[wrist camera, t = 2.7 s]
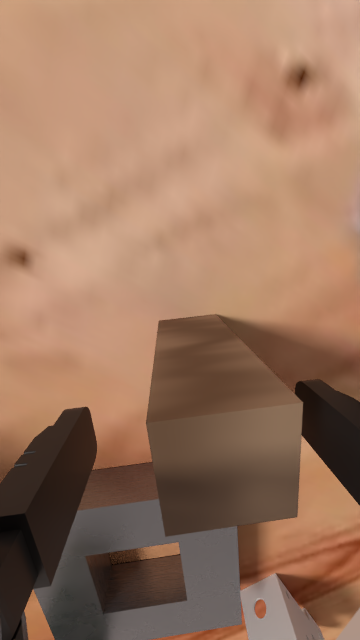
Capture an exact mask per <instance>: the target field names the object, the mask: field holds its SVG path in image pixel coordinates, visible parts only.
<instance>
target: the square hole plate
mask: <svg viewBox="0 0 360 640" xmlns="http://www.w3.org/2000/svg"><path fill="white" fill-rule="evenodd" d="M176 542H179V547H180V554H181V555H175V556H169V557H162V558H155V559H149V560H142V561H136V562H129V563H123V564H116V565H112V563H111V560H110V556H109V552H116V551H123V550H129V549H136V548H143V547H149V546H156V545H163V544H169V543H176ZM34 591H35V594H36V596H37V598H38V601H39V603H40V606H41V608H42V610H43V613H44V615H45V617H46V620H47V622H48V624H49V627H50V629H51V631H52V634H53V636H54V638H55V640H149V639H156V638H162V637H168V636H174V635H180V634H186V633H192V632H198V631H204V630H210V629H216V628H222V627H228V626H234V625H240V624H242V619H241V598H240V577H239V556H238V535H237V526H235V527H228V528H221V529H215V530H208V531H201V532H195V533H188V534H181V535H175V536H168V537H165V532H164V526H163V520H162V514H161V509H160V503H159V497H158V491H157V485H156V479H155V473H154V467H153V462H151V463H144V464H136V465H129V466H122V467H114V468H107V469H100V470H92V471H91V473H90V476H89V479H88V482H87V485H86V488H85V490H84V493H83V496H82V499H81V502H80V505H79V508H78V510H77V513H76V516H75V519H74V522H73V525H72V527H71V530H70V533H69V536H68V539H67V542H66V545H65V547H64V550H63V553H62V556H61V559H60V562H59V565H58V567H57V570H56V573H55V576H54V579H53V582H52V584H51V586H49V587H43V588H37V589H34Z"/></svg>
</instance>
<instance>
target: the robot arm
mask: <svg viewBox="0 0 360 640" xmlns="http://www.w3.org/2000/svg"><path fill="white" fill-rule="evenodd" d="M295 395H296V396H297V397H298V398H299V399H300V400H301V401H302V402H303V414H302V433H301V435H302V436H303V437H304V438H305V440H306V441H307V442H308V443H309V444H310V446H311V447H312V448H313V449H314V451H315V452H316V453H317V454H318V455H319V457H320V458H321V459H322V460H323V461H324V463H325V464H326V465H327V466H328V468H329V469H330V470H331V471H332V472H333V474H334V475H335V476H336V477H337V478H338V480H339V481H340V482H341V483H342V485H343V486H344V487H345V488H346V489H347V491H348V492H349V493H350V494H351V496H352V497H353V498H354V499H355V500H356V502H357V503H358V504H359V505H360V402H359V401H357V400H356V399H354V398H352V397H350V396H348V395H345V394H343V393H341V392H339V391H336V390H334V389H333V388H331V387H330V386H329V385H327V384H326V383H324V382H323V381H322V380H319V379H315V380H307V381H299V382H297V384H296V388H295ZM96 453H97V441H96V436H95V432H94V427H93V423H92V418H91V414H90V410H89V408H88V407H81V408H73V409H66V410H64V411H63V412H62V414H61V415H60V417H59V418H58V420H57V421H56V423H55V424H54V425H53V426H48V427H47V428H46V429H45V430H44V431H42V432H41V433H40V434H39V435H38V436H36V437H35V438H34V439H33V441H32V442H31V443H30V445H29V446H28V447H27V449H26V450H25V451H24V454H23V455H21V457H20V458H19V459H18V461H17V462H16V463H15V466H14V468H12V469H11V470H10V471H9V473H8V474H7V475H6V477H5V478H4V479H3V481H2V482H1V483H0V640H28V633H27V625H26V617H25V613H24V609H25V607H26V604H27V602H28V599H29V597H30V595H31V592H32V590H33V589H37V588H43V587H49V586H51V584H52V582H53V579H54V576H55V573H56V570H57V567H58V565H59V562H60V559H61V556H62V553H63V550H64V547H65V545H66V542H67V539H68V536H69V533H70V530H71V527H72V525H73V522H74V519H75V516H76V513H77V510H78V508H79V505H80V502H81V499H82V496H83V493H84V490H85V488H86V485H87V482H88V479H89V476H90V473H91V471H92V468H93V465H94V462H95V459H96Z"/></svg>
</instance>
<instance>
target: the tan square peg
mask: <svg viewBox="0 0 360 640" xmlns="http://www.w3.org/2000/svg"><path fill="white" fill-rule="evenodd" d="M302 414H303V402H302V401H301V400H300V399H299V398H298V397H297V396H296V395H295V394H294V393H293V392H292V391H291V390H290V389H289V388H288V387H287V386H286V385H285V384H284V383H283V382H282V381H281V380H280V379H279V378H278V377H277V376H276V375H275V374H274V373H273V372H272V371H271V370H270V369H269V368H268V367H267V366H266V365H265V364H264V363H263V362H262V361H261V360H260V359H259V358H258V357H257V356H256V354H255V353H254V352H253V351H252V350H251V349H250V348H249V347H248V346H247V345H246V344H245V343H244V342H243V341H242V340H241V339H240V338H239V337H238V336H237V335H236V334H235V333H234V332H233V331H232V330H231V329H230V328H229V327H228V326H227V325H226V324H225V323H224V322H223V321H222V320H221V319H220V318H219V317H218V316H217V315H216V314H214V315H205V316H197V317H188V318H179V319H171V320H162V321H159V324H158V332H157V340H156V348H155V356H154V364H153V372H152V380H151V388H150V396H149V404H148V412H147V420H146V426H147V432H148V437H149V443H150V449H151V455H152V461H153V467H154V473H155V479H156V485H157V491H158V497H159V503H160V509H161V514H162V520H163V526H164V532H165V537H168V536H175V535H181V534H188V533H195V532H201V531H208V530H215V529H221V528H228V527H235V526H241V525H248V524H255V523H261V522H268V521H275V520H281V519H288V518H295V517H297V513H298V493H299V473H300V453H301V433H302Z"/></svg>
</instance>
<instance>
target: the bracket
mask: <svg viewBox="0 0 360 640" xmlns="http://www.w3.org/2000/svg"><path fill="white" fill-rule="evenodd" d="M240 596H241V601H242V607H243V612H244V617H245V623H246V628H247V633H248V639H249V640H324V638H323V635H322V633H321V630H320V628H319V627H318V625H317V624H316V623H315V621H314V620H313V618H312V617H311V616H310V614H309V613H308V611H307V610H306V609H305V608H303V609H301V608H300V607H299V605H298V604H297V602H296V601H295V600H294V598H293V597H292V595H291V594H290V593H289V591H288V590H287V589H286V587H285V586H284V584H283V583H282V582H281V580H280V579H279V577H278V576H277V575H276V573H275V574H273V575H271V576H269V577H267V578H265V579H263V580H261V581H259V582H257V583H255V584H253V585H251V586H249V587H247V588H245V589H243V590H241V591H240ZM259 599H262V600H264V602H265V604H266V615H265V617H264V618H262V619H260V618H258V617H257V616H256V614H255V603H256V601H257V600H259Z"/></svg>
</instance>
